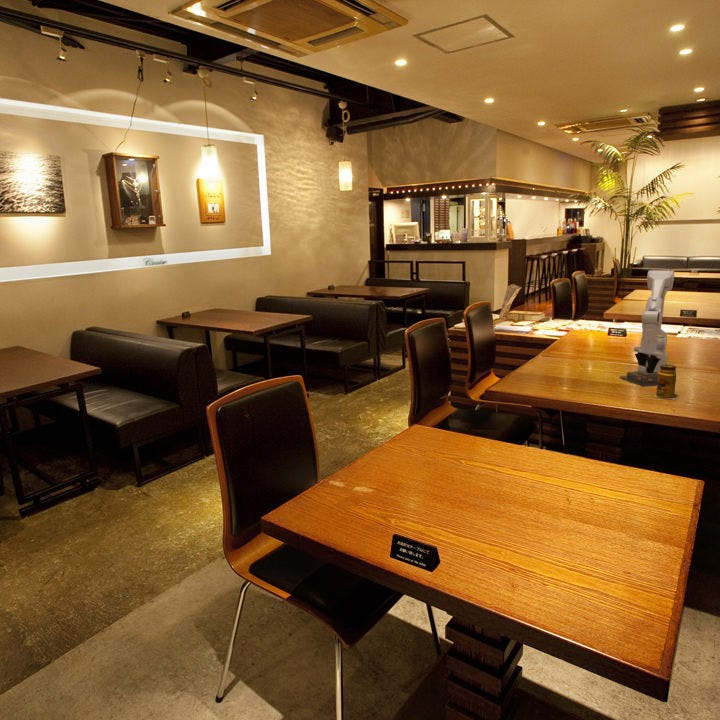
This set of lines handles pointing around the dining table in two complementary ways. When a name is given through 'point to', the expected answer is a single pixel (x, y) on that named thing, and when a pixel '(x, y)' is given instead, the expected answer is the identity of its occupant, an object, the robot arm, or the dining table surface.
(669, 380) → the condiment
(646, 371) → the column
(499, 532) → the dining table surface
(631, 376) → the housing
